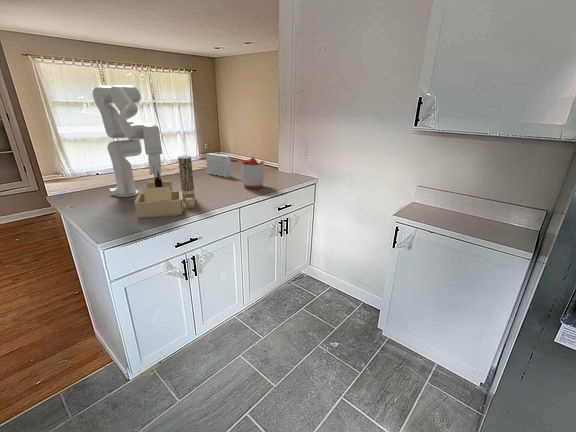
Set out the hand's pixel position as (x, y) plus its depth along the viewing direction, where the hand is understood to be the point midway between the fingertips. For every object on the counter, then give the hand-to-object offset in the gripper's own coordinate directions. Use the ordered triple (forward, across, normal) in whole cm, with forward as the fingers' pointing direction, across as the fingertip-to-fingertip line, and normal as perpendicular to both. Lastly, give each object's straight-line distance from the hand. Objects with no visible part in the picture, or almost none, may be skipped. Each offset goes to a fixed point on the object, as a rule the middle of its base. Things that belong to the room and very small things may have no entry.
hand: (158, 186), depth 152 cm
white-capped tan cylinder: (+12, 0, +14) cm, 19 cm away
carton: (+12, +4, 0) cm, 13 cm away
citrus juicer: (+13, -32, +57) cm, 66 cm away
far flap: (+4, -5, 0) cm, 6 cm away
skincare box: (+12, -70, +37) cm, 80 cm away
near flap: (+4, +12, 0) cm, 13 cm away
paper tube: (+12, -14, +14) cm, 23 cm away
